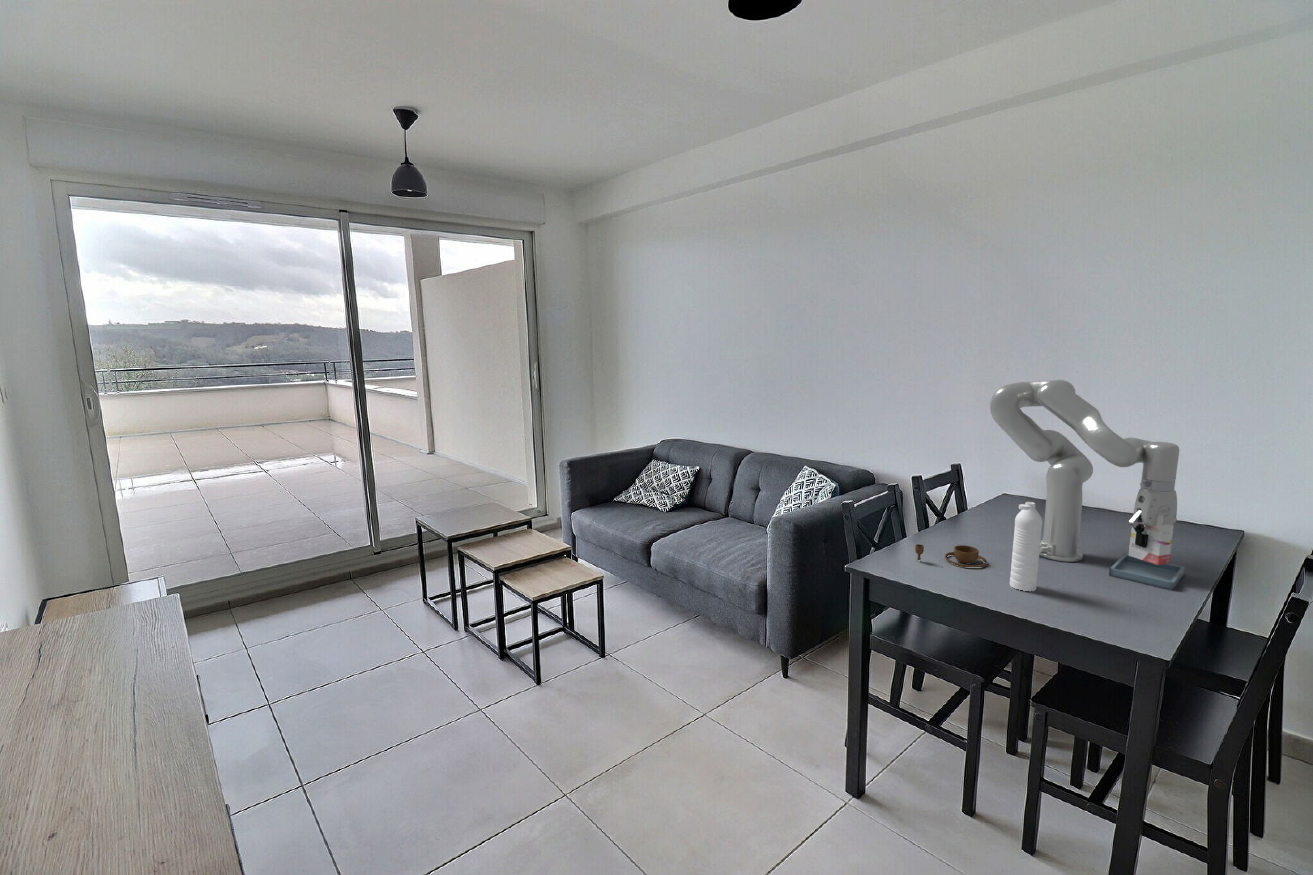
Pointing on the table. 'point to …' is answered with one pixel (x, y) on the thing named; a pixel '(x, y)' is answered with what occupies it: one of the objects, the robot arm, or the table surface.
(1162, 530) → the ink cartridge box
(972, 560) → the place setting
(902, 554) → the table surface
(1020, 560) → the water bottle
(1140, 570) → the tray
